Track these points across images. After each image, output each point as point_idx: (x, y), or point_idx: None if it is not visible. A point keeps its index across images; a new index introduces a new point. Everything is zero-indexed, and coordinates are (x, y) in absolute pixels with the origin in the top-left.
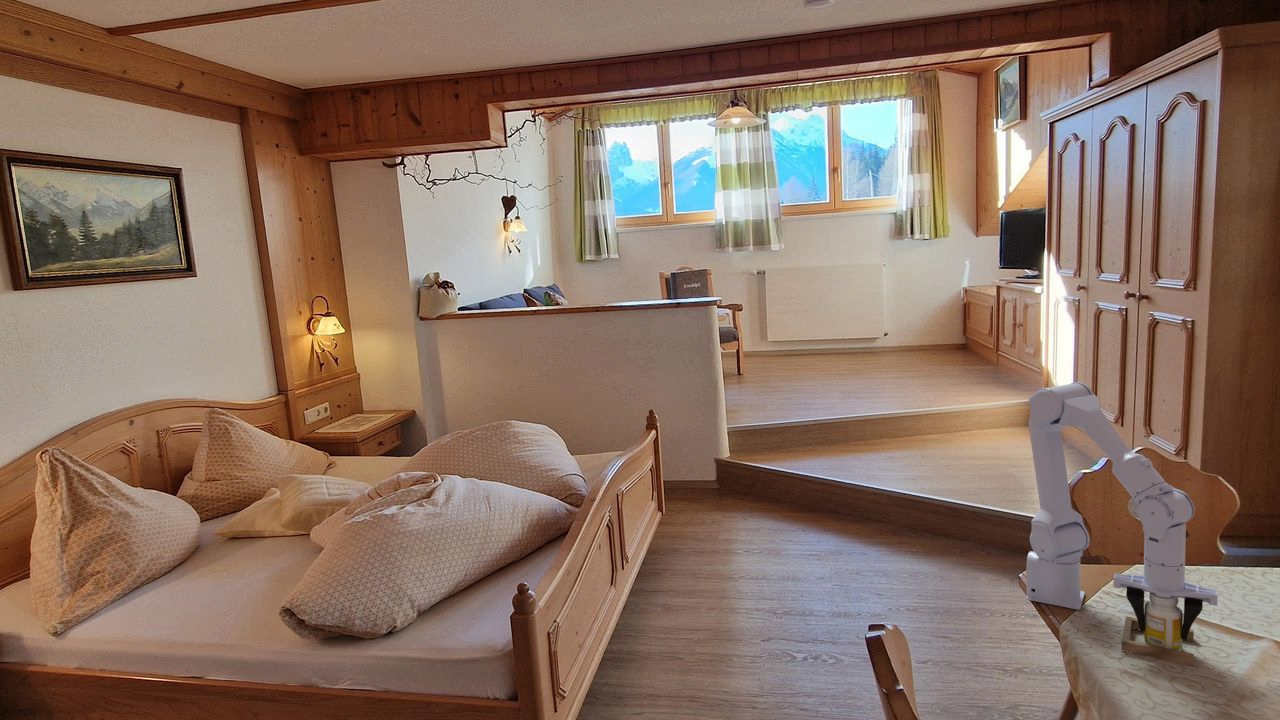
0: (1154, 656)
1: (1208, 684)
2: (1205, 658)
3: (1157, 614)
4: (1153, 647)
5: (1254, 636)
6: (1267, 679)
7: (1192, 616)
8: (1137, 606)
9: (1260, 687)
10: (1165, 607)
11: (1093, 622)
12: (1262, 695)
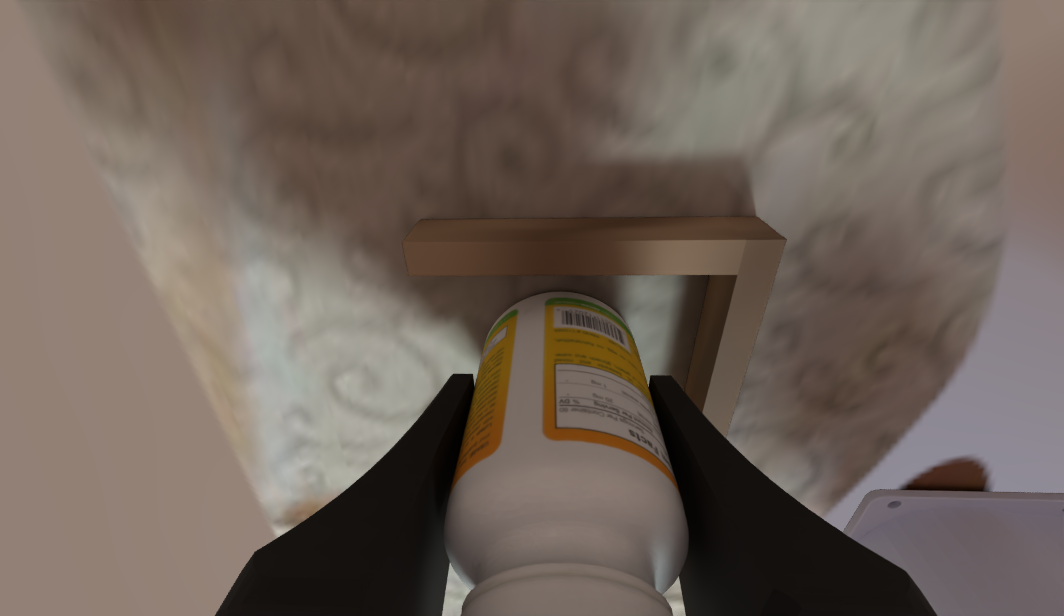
0: (595, 222)
1: (315, 42)
2: (393, 324)
3: (606, 466)
4: (607, 247)
5: (305, 519)
6: (147, 258)
7: (351, 506)
8: (768, 513)
9: (128, 162)
10: (548, 552)
11: (831, 425)
12: (78, 70)
